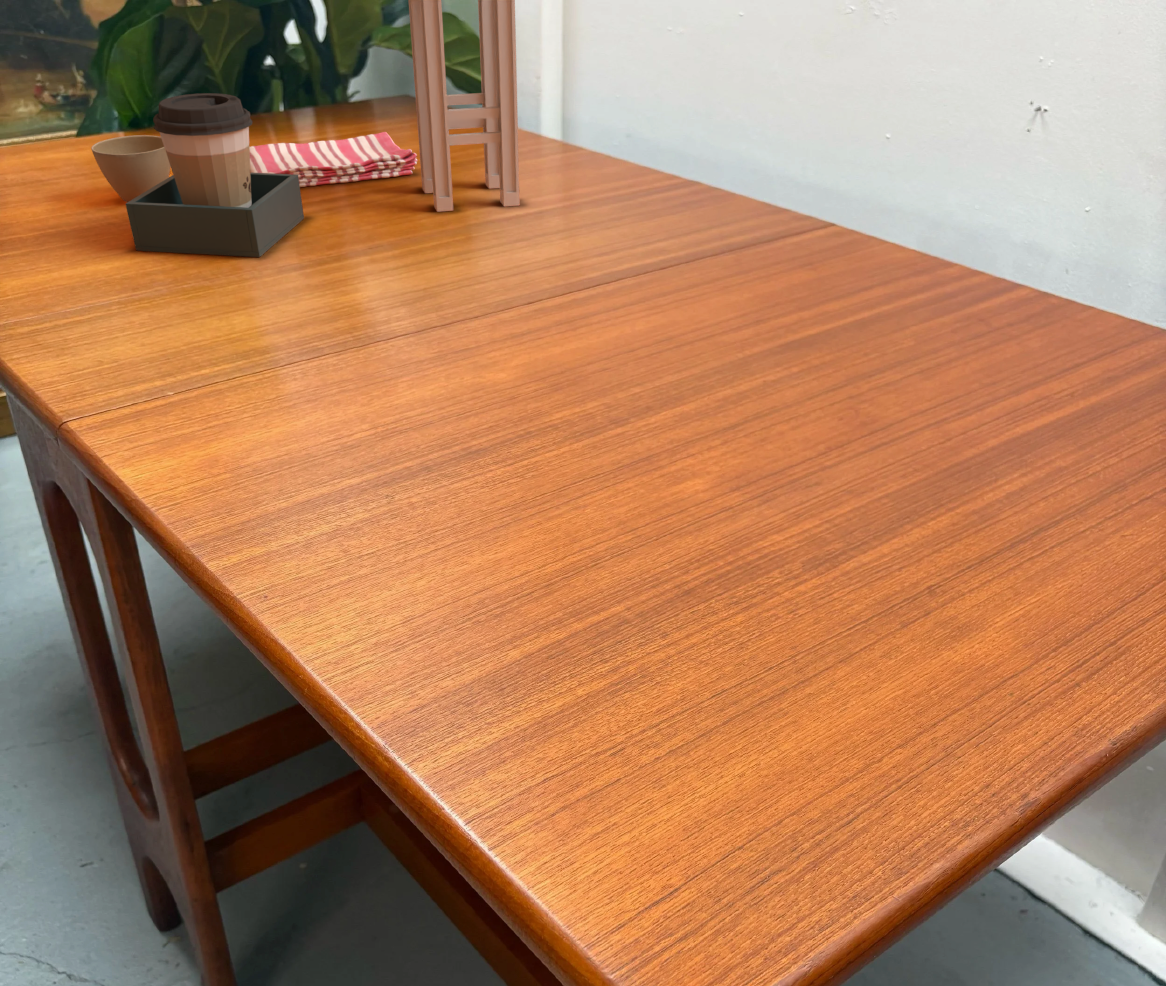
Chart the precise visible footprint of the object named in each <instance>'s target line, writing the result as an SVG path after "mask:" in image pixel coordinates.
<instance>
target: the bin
mask: <svg viewBox="0 0 1166 986" xmlns="http://www.w3.org/2000/svg"><path fill="white" fill-rule="evenodd" d="M250 175H251V201H252V205H251V206H250V207H249V208H245V207H224V206H204V205H183V203H182V200H181V197H180V193H179V190H178V187H177V184H176V181H175V178H174V175H173V174H172V175H171V176H169V178H167V179H166V180H164V181H162V182H161V183H159V184H157V185H156V186H154V187H152V188H151V189H149V190H147V191H146V192H144V193H142V194H141V195H139V196H137V197H136V198H134V199H132V200H131V201H129V202H125V208H126V212H127V217H128V222H129V225H130V229H131V235H132V239H133V244H134V248H135V251H138V252H153V253H173V254H190V255H192V254H194V255H209V256H210V255H211V256H212V255H213V256H228V257H229V256H230V257H247V258H249V257H250V258H261V257H262V256H263V255H265V254H266V253H267V251H269V250H270V249H271V248H272V247H274V246H275V245H276V244H277V243H278V242H279V241H280V240H281V239H283V238H284V237H285V236H286V235H287V234H288V233H290V232H291V231H292V230H293V229H294V228H295V227H296V226H297V225H298V224H300V223H301V222H303V220H305V215H304V209H303V200H302V194H301V187H300V185H299V178H298V175H294V174H274V173H251V172H250Z"/></svg>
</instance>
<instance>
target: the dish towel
mask: <svg viewBox="0 0 1166 986" xmlns="http://www.w3.org/2000/svg"><path fill="white" fill-rule="evenodd" d="M249 150H250V172H251V173H274V174H294V175H298V178H299V185H300V188H304V187H313V186H320V185H329V184H330V185H331V184H343V183H352V182H354V183H355V182H359V181H368V180H379V179H388V178H395V177H396V178H397V177H401V176H410V175H413V171H412V170H415V169H416V168H415V166H417V164H418V159H417V157H418V155H417V153H416V152H413V150H412V149H411V148H407V149H404V148H400V146H398V145H397V144H396V143H395V142H394V141H393V139H392V138H391V136H390V135H389V134H388V133H387V132H386V131H382V132H381V131H380V132H379V133H371V134H367V135H359V136H356V137H349V138H345V139H337V140H336V139H332V140H331V139H329V140H318V141H311V142H306V143H296V142H278V143H267V144H261V145H251V146H249Z"/></svg>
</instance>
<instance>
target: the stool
mask: <svg viewBox="0 0 1166 986" xmlns="http://www.w3.org/2000/svg"><path fill="white" fill-rule="evenodd" d="M442 7H443V6H442V0H408V14H409V25H410V39H411V41H410V42H411V53H412V54H411V55H412V66H413V68H412V69H413V81H414V94H415V95H414V96H415V107H416V108H415V109H416V122H417V134H418V136H417V137H418V148H419V149H418V150H419V162H420V177H421V178H420V179H421V190H422V191H423V193H424V194H433V195H432V196H433V207H434V209H435V211H436V212H439V213H440V212H451V211H453V212H454V196H453V180H452V162H451V146H465V145H479V144H481V145H483V156H484V157H483V158H484V159H483V161H484V180H485V181H484V183H485V186H486V187H487V188H488V189H499V202H500V203H501V205H502V206H503V207H515V206H521V205H520V204H521V202H520V163H519V162H520V160H519V159H520V157H519V122H518V120H519V119H518V118H519V117H518V78H517V77H518V75H517V35H516V0H477V10H478V11H477V13H478V35H479V36H478V37H479V55H480V56H479V57H480V58H479V59H480V61H479V62H480V82H481V84H480V86H481V87H480V88H481V92H476V93H456V94H448V93H447V92H448V90H447V75H446V58H445V40H444V24H443V23H444V22H443V8H442ZM462 105H481V107H466V108H464V107H463V108H448V106H462ZM478 128H482V132H468V133H454V134H453V133H451V134H450V130H461V129H463V130H464V129H478Z"/></svg>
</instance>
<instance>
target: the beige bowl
mask: <svg viewBox="0 0 1166 986" xmlns="http://www.w3.org/2000/svg"><path fill="white" fill-rule="evenodd" d="M90 148H91V152H92V155H93V157H94V159H95V162H96V164H97V165H98V168H99V170H100V172H101V173H102V175H103V176H104V178H105V179H106V181H107V182H108V184H109V186H111V188H112V189H113V190H114V191H115V193H116V194H117V195H118V196H119V197H120V198H121V199H122V200H123V201H124V202H125V203H127V202H129V201H131V200H132V199H134V198H136V197H137V196H139V195H141V194H142V193H144V192H146V191H147V190H149V189H151V188H152V187H154V186H156V185H157V184H159V183H161V182H162V181H164V180H166V179H167V178H169V177H170V173H171V166H170V163H169V160H168V157H167V154H166V151H165V148H164V145H163V142H162V138H161V136H158V135H146V134H140V135H139V134H138V135H137V134H135V135H125V136H118V137H112V138H108V139H104V140H100V141H98V142H96V143H94V144H93V145H92V146H91V147H90Z"/></svg>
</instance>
